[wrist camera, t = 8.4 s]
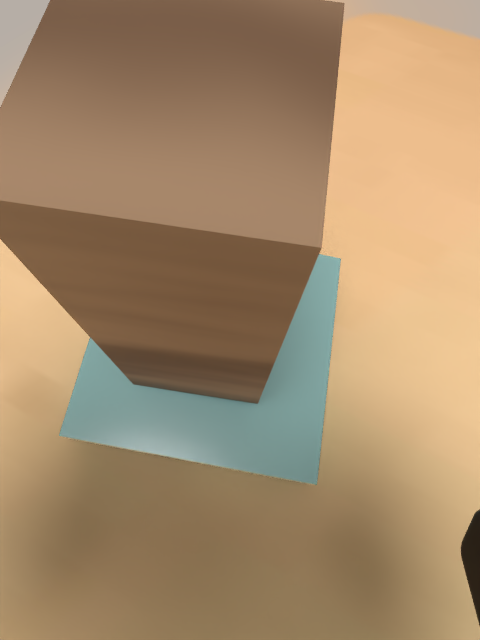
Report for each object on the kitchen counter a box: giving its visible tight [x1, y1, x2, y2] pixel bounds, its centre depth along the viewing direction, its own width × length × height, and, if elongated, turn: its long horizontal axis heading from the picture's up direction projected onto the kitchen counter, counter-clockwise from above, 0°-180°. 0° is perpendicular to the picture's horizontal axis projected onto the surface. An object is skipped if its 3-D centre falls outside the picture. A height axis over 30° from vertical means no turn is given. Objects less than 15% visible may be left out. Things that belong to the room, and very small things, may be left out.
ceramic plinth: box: [59, 254, 341, 485], centre depth 19 cm, size 10×10×2 cm
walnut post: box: [0, 0, 344, 404], centre depth 12 cm, size 5×5×12 cm
